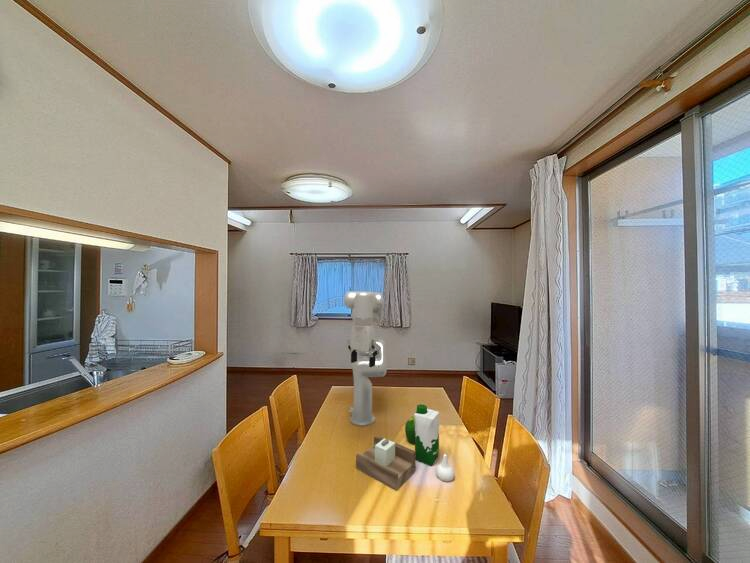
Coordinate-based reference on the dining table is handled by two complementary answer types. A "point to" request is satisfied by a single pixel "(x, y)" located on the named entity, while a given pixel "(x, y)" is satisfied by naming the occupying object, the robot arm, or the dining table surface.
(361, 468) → the shelf
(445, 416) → the dining table surface
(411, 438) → the bell pepper
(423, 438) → the milk carton
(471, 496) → the dining table surface
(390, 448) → the cabinet
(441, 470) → the garlic bulb
